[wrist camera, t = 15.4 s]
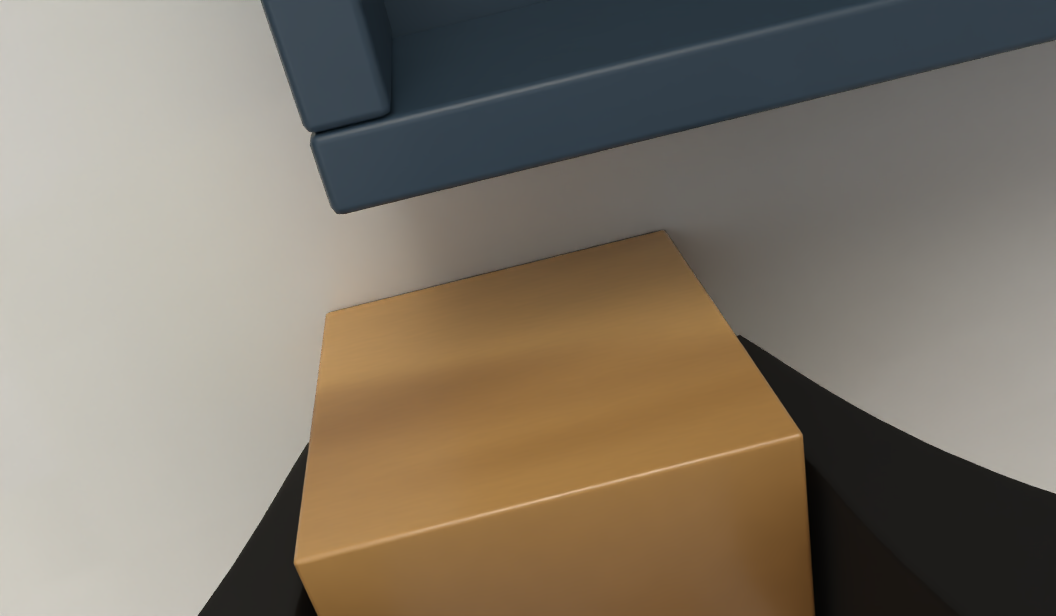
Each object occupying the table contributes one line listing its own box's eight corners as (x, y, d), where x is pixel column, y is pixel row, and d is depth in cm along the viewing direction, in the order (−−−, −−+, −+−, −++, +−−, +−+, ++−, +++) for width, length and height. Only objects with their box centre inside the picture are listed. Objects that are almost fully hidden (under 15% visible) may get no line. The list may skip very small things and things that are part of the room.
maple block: (702, 490, 14) (826, 755, 10) (416, 562, 14) (426, 858, 10) (665, 228, 12) (804, 433, 8) (324, 311, 12) (291, 563, 8)
